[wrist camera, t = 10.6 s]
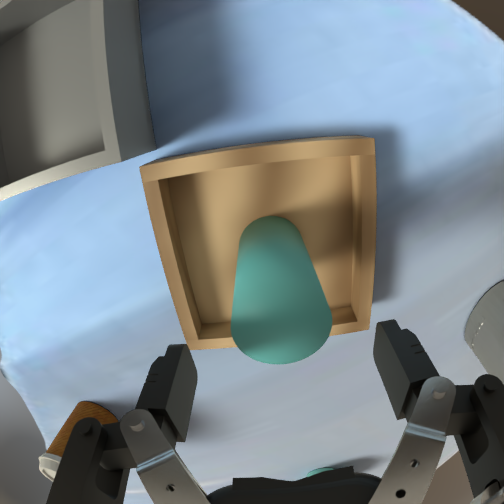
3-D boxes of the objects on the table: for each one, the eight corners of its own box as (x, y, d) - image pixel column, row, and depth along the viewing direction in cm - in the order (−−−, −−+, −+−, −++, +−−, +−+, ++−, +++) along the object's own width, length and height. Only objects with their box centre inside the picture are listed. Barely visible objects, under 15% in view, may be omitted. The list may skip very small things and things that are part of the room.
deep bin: (136, -26, 13) (104, -60, 8) (156, 149, 19) (121, 161, 14) (-3, 47, 14) (-47, 43, 8) (13, 192, 20) (-31, 214, 14)
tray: (357, 135, 19) (374, 138, 16) (358, 307, 24) (369, 329, 22) (154, 160, 19) (139, 166, 17) (194, 326, 25) (189, 350, 22)
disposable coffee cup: (55, 389, 31) (21, 457, 20) (110, 395, 30) (79, 477, 19) (88, 430, 34) (65, 492, 23) (141, 437, 34) (123, 508, 23)
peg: (300, 212, 20) (332, 277, 12) (304, 270, 22) (331, 357, 13) (234, 220, 20) (221, 291, 12) (244, 278, 22) (239, 368, 14)
